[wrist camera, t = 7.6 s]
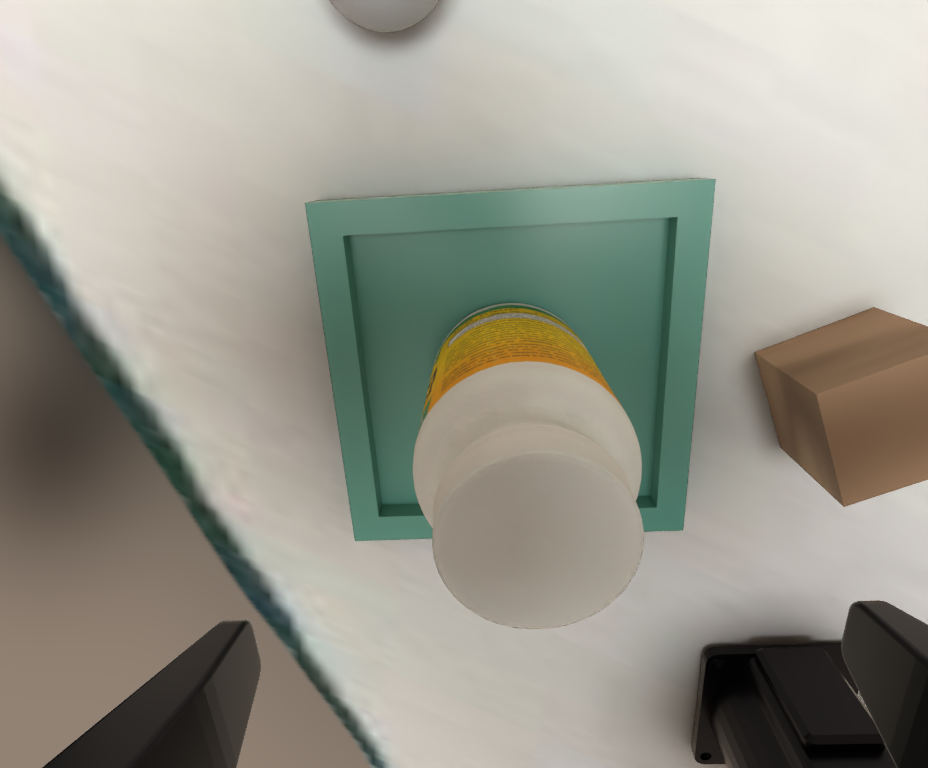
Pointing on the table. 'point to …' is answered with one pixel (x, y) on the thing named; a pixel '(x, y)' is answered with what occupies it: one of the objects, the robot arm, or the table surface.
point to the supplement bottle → (527, 471)
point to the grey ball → (384, 13)
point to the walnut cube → (853, 403)
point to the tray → (511, 281)
